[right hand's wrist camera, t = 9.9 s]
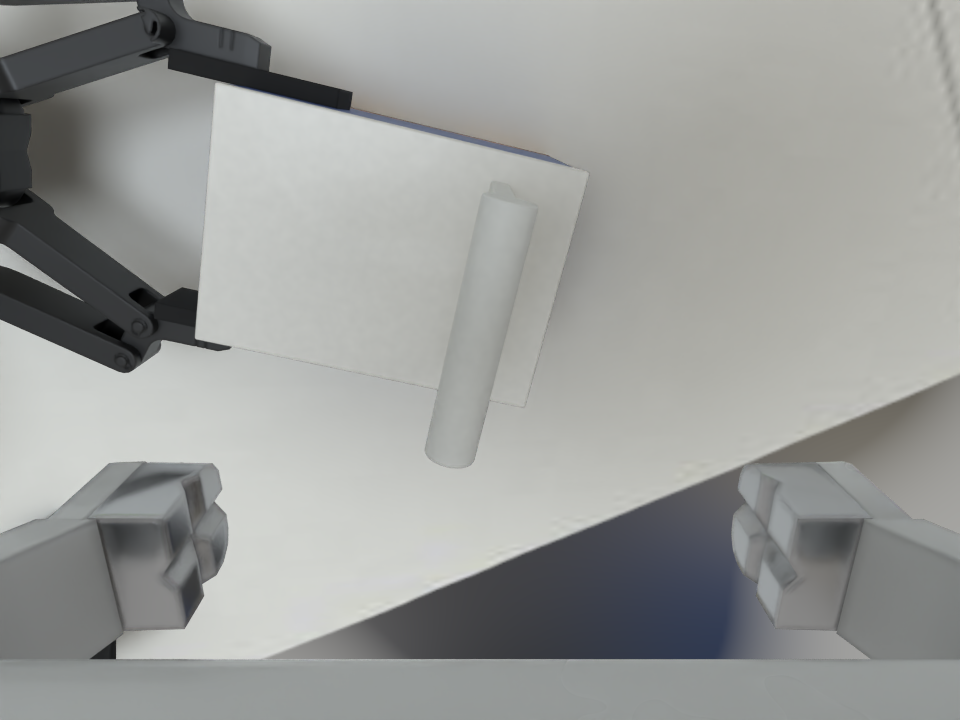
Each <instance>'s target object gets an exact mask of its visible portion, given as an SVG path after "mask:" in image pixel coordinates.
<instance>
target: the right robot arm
mask: <svg viewBox="0 0 960 720" xmlns="http://www.w3.org/2000/svg"><path fill="white" fill-rule="evenodd" d="M221 490H222V485H221V480H220V475H219V470H218V469H217V468H216V467H215V466H214V465H213V463H164V462H149V463H147V462H116V463H109V464H108V465H107V466H106V467H104V468H103V469H102V470H101V471H100V472H99V473H98V474H97V475H96V476H94V477H93V478H92V479H91V480H90V481H89V482H88V483H87V484H86V485H84V486H83V487H82V488H81V489H80V490H79V491H78V492H77V493H76V494H74V495H73V496H72V497H71V498H70V499H69V500H68V501H67V502H66V503H64V504H63V505H62V506H61V507H60V508H59V509H58V510H57V511H56V512H54V513H53V514H52V515H51V516H50V517H49V518H48V519H35V520H33V521H30V522H28V523H26V524H23V525H21V526H18V527H16V528H13V529H11V530H8V531H6V532H3V533H1V534H0V720H960V534H959V533H957V532H954V531H952V530H949V529H947V528H944V527H942V526H939V525H937V524H934V523H932V522H930V521H927V520H925V519H912V518H911V517H910V516H909V515H908V514H907V513H906V512H904V511H903V510H902V509H901V508H900V507H899V506H898V505H897V504H896V503H894V502H893V501H892V500H891V499H890V498H889V497H888V496H887V495H886V494H885V493H883V492H882V491H881V490H880V489H879V488H878V487H877V486H876V485H875V484H873V483H872V482H871V481H870V480H869V479H868V478H867V477H866V476H865V475H863V474H862V473H861V472H860V471H859V470H858V469H857V468H856V467H855V466H854V465H852V464H850V463H847V462H843V461H840V462H817V463H816V462H804V463H803V462H802V463H762V464H748V465H744V468H743V470H742V472H741V474H740V479H739V485H738V490H739V492H740V493H741V495H742V496H743V498H744V500H745V501H746V502H745V503H744V504H743V505H742V506H741V507H740V508H739V509H738V510H737V511H736V512H735V513H734V516H733V524H732V532H731V534H732V544H733V552H734V555H735V558H736V561H737V564H738V566H739V568H740V569H741V571H742V573H743V575H744V576H746V577H748V578H749V579H751V580H752V581H754V582H755V583H757V584H758V587H757V592H756V597H757V599H758V600H759V602H760V604H761V605H762V607H763V609H764V610H765V612H766V614H767V615H768V617H769V619H770V620H771V622H772V624H773V626H774V627H775V629H793V630H830V631H837V634H838V635H839V636H841V637H842V638H844V639H845V640H846V641H847V642H849V643H850V644H851V645H853V646H854V647H855V648H857V649H858V650H859V651H861V652H862V653H863V654H865V655H866V656H867V657H869V658H870V659H90V658H91V657H93V656H94V655H95V654H97V653H98V652H99V651H101V650H102V649H103V648H105V647H106V646H107V645H109V644H110V643H112V642H113V641H114V640H116V639H117V638H118V637H120V636H121V635H122V634H123V631H130V630H165V629H185V627H186V626H187V624H188V622H189V621H190V619H191V617H192V616H193V614H194V612H195V610H196V609H197V607H198V605H199V604H200V602H201V600H202V599H203V597H204V592H203V587H202V584H203V583H205V582H206V581H208V580H209V579H211V578H213V577H214V576H216V575H217V573H218V571H219V569H220V567H221V566H222V564H223V562H224V558H225V554H226V550H227V546H228V522H227V516H226V513H225V512H224V511H223V510H222V509H221V508H220V507H219V506H218V505H217V504H216V503H215V502H214V501H215V500H216V498H217V497H218V495H219V493H220V492H221Z"/></svg>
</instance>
